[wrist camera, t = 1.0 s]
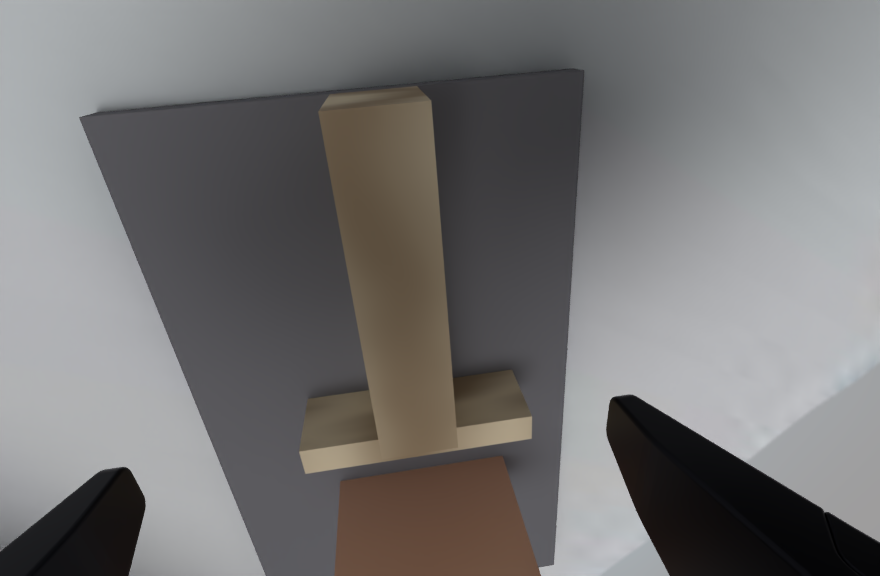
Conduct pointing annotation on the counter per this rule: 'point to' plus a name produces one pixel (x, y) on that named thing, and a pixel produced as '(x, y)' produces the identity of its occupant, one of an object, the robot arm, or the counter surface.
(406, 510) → the terracotta tile
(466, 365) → the charcoal mat
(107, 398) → the counter surface
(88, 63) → the counter surface
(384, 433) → the beech scraper
